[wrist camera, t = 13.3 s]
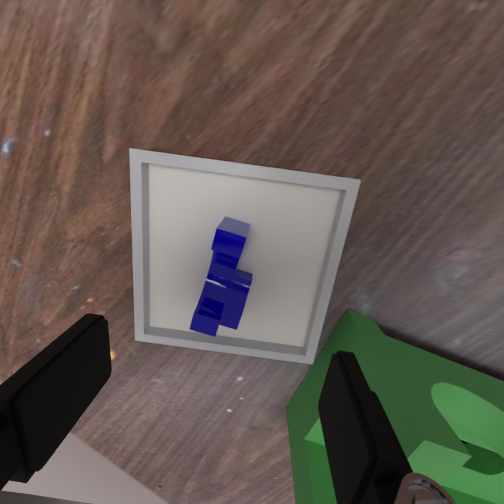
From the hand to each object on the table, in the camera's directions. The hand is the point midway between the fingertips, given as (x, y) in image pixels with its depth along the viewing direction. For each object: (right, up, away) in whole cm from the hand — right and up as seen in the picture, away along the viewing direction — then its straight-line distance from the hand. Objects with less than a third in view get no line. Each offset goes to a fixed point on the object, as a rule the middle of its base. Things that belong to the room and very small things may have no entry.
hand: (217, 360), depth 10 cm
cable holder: (0, +3, +11) cm, 11 cm away
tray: (0, +4, +12) cm, 12 cm away
